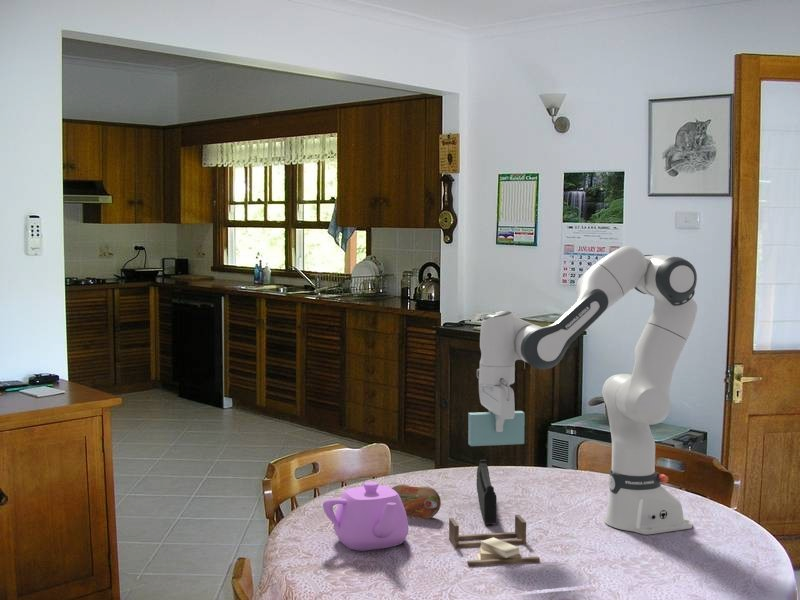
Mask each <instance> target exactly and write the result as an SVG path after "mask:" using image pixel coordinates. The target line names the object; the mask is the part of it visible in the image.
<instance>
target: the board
mask: <svg viewBox="0 0 800 600" xmlns="http://www.w3.org/2000/svg"><path fill="white" fill-rule="evenodd" d="M525 414H526V413H525V412H524V411H523V410H515V415H514V418H513V419H505V420H504V424H503V431H502V432H496V431H495V424H496V418H495V414H493V413H492V412H489V411H484V412H479V411H478V412H468V414H467V415H468V420H467V421H468V422H467V423H468V426H467V427H468V430H467V435H468V437H467V440H468V441H467V444H468V445H469V446H470V447H481V446H506V445H509V446H510V445H525V425H526V423H525V422H526V421H525V416H526V415H525Z"/></svg>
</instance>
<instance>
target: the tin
mask: <svg viewBox="0 0 800 600" xmlns="http://www.w3.org/2000/svg"><path fill="white" fill-rule="evenodd" d="M391 488H392V489H393V490H395V491H396V492H397V493H398V494H399V496H400V498H401V501H402V503H403V506H404V508H405V511H406V515H407V518H413V517H414V518H415V519H420V518H421V519H423V520H430V519H432V518H433V517H434V516H435V515H437V514H438V512H439V511H440V509H441V505H442V502H441V501H442V500H441V496H440V495H439V493H438V491H436V490H435V488H433V487H429V486H423V485H412V484H405V483H404V484H403V483H402V484H397V485H395V486H393V487H391Z"/></svg>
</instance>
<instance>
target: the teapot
mask: <svg viewBox="0 0 800 600" xmlns="http://www.w3.org/2000/svg"><path fill="white" fill-rule="evenodd" d="M392 488H393V487H390V486H388V485H385V484H384V485H382V484H379V483H378V482H376V481H366V482H364V483H363V485H362V486H356V487H350V488H346V489H344V490H343V492H342V493H341V496H340V498H328V499H325V500H324V501H323V503H322V508H323V512H324V513H325V515H326V516H327V518H328V519H329V521H331V523H332V524H333V531H334V533H335V535H336V536H337V538H338V540H339V541H340V542H341V544H343V545H344V546H345V547H347V548H348V549H351V550H355V551H360V552H366V551H370V550H371V551H372V550H380V549H381V550H382V549H386V548H394V547H395V546H399V545H401V544H402V543H404V542H405V540H406V538H407V536H408V535H409V521H408V517H407V515H406V511H405V508H404V506H403V503H402V501H401V498H400V496H399V494H398V493H397V492H396V491H395V490H393V489H392ZM335 505H337V506H336V509H335V512H334V508H333V507H334V506H335Z"/></svg>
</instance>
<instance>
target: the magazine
mask: <svg viewBox="0 0 800 600" xmlns="http://www.w3.org/2000/svg"><path fill="white" fill-rule="evenodd" d="M476 468H477V469H476V482H475V483H476V491H477V498H478V504H479V509H480V510H479V511H480V513H481V517H482V520H483V522H484V524H487V525H494V524H495V525H496V524H497V523H498V513H497V512H498V511H497V510H498V508H497V507H498V506H497V501H498V500H497V494H496V492H495V489H494V486H492V483H491V477H490V471H489V467H488V465H487V460H486V459H480V460H479V465H478V466H477V467H476Z"/></svg>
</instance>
